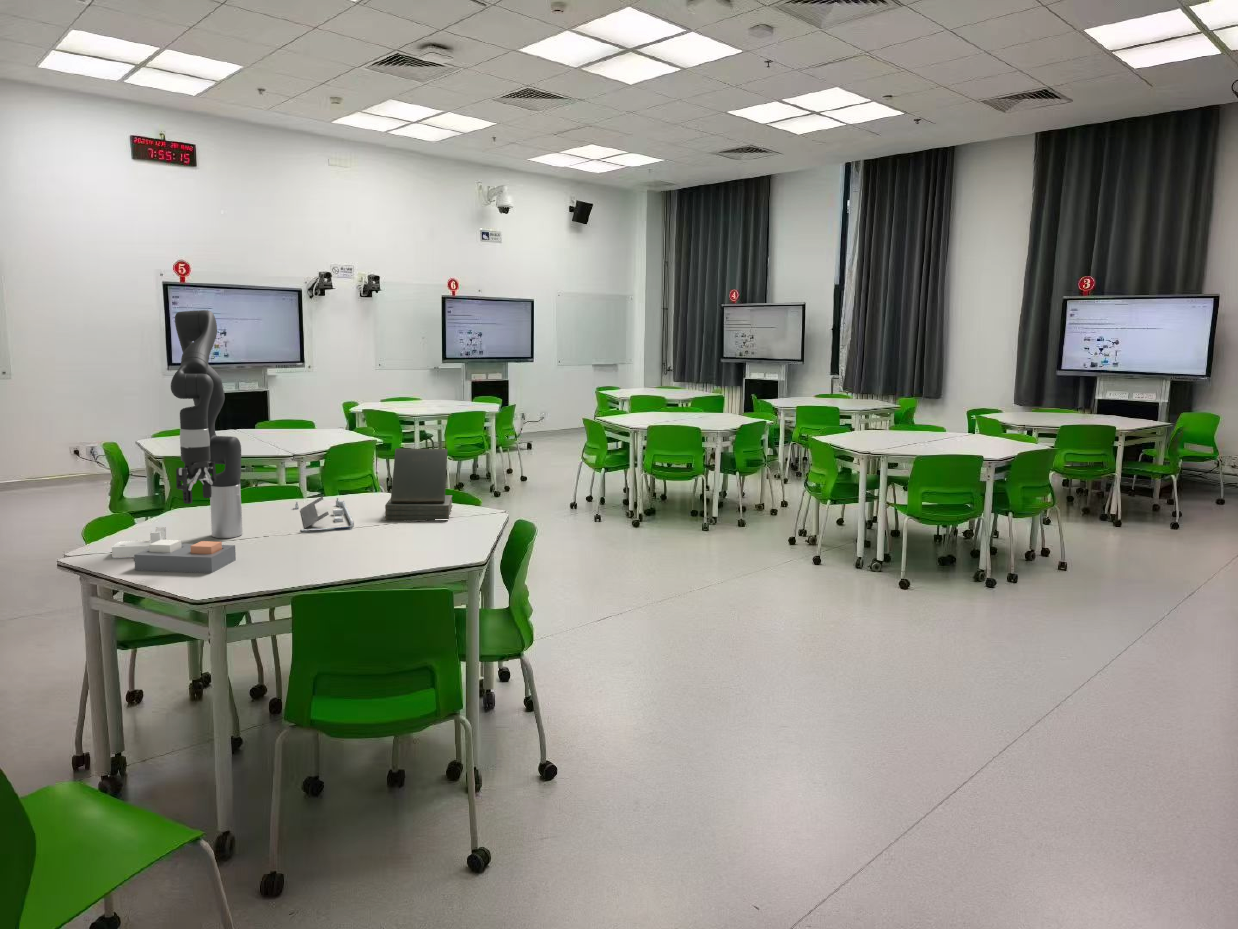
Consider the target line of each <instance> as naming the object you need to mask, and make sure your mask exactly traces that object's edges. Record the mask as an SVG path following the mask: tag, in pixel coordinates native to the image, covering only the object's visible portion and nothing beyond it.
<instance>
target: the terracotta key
mask: <svg viewBox="0 0 1238 929" xmlns="http://www.w3.org/2000/svg"><path fill="white" fill-rule="evenodd" d="M193 544H194V545H192V546H190V547H191V553H194V554H214V553H216V552H218V551H220V550H222V545H223V542H222V541H209V540H208V541H207V540H206V541H205V540H201V541H198V542H197V543H193Z"/></svg>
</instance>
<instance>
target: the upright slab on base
mask: <svg viewBox="0 0 1238 929" xmlns="http://www.w3.org/2000/svg"><path fill="white" fill-rule="evenodd" d="M447 466H448V449H447V448H402V447H401V448H395V449H394V462H393V470H392V482H391V492H390V498H389V499H388V500H387V502H386V503H385V505H384V508H385V511H384V512H385V513H384V514H385V519H384V520H385V522H387V521H388V522H393V521H394V522H395V521H396V522H397V521H398V522H399V521H400V522H401V521H402V522H405V521H404V520H406V521H407V520H435V519H449V520H450V516H451V513H450V512H452V510H451V509H452V508H453V505H452V504H453V500H452V499H453V495H452V494H451V495H450V494H449V495H447V494H446V485H447V468H448V467H447ZM449 515H450V516H449ZM407 522H408V521H407Z"/></svg>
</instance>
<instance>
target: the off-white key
mask: <svg viewBox="0 0 1238 929" xmlns="http://www.w3.org/2000/svg"><path fill="white" fill-rule="evenodd" d="M181 543H182V540H181V539H180V540H178V539H166V540H159V541H157V542H154V543H152V544H149V552H166V553H171V552H173V551H176V550H178V549H180V548H182V547H181Z"/></svg>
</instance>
